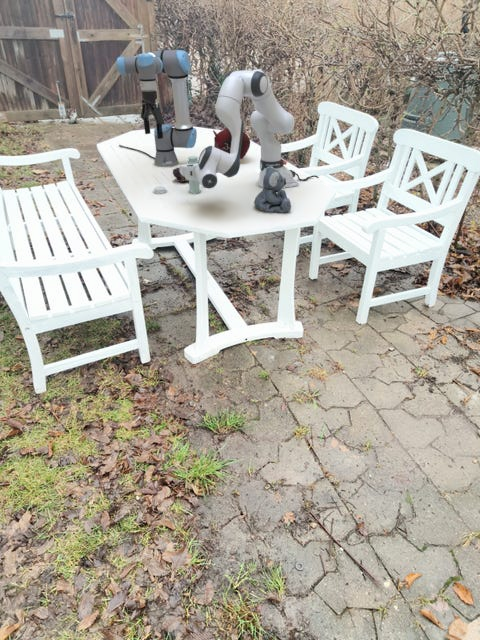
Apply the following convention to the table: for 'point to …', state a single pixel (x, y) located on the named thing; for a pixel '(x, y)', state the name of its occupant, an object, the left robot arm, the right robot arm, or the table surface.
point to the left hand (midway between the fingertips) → (154, 136)
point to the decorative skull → (225, 139)
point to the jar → (192, 183)
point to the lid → (160, 189)
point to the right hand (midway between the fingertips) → (197, 164)
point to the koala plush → (273, 193)
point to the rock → (178, 175)
